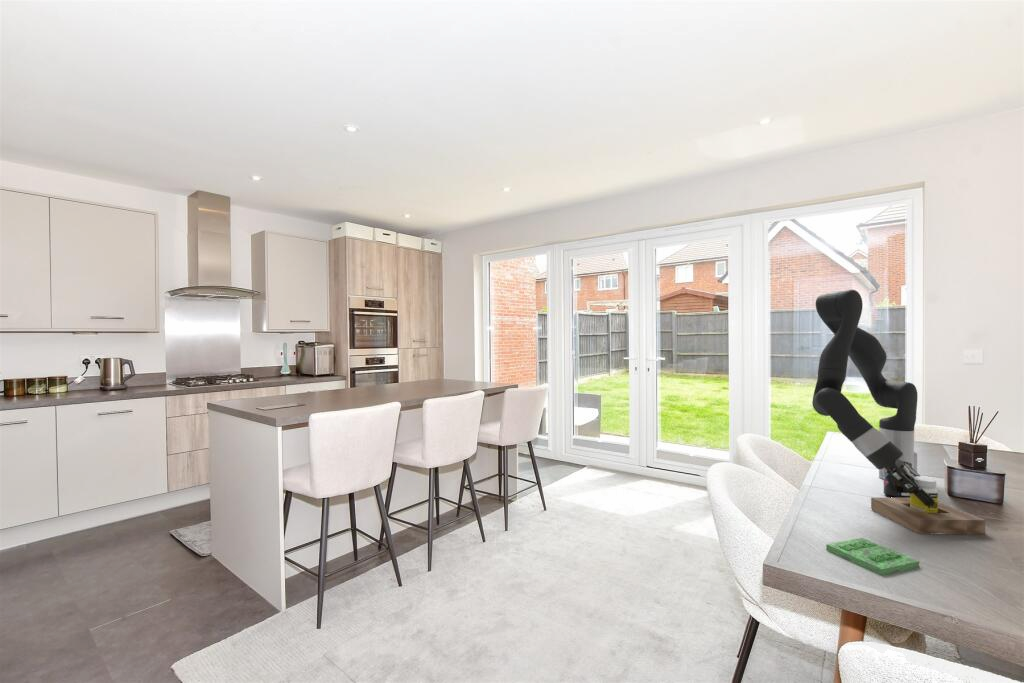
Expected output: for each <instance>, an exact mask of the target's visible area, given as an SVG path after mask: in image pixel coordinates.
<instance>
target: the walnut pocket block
mask: <svg viewBox="0 0 1024 683" xmlns="http://www.w3.org/2000/svg"><path fill="white" fill-rule="evenodd" d="M871 509H872V510H873V512H874V511H875V512H874V513H876V512H877V513H876V514H878V513H879V515H880V514H881V515H880V516H882V515H883V517H884V516H885V517H884V518H886V517H887V518H886V519H888V518H889V519H888V520H890V519H891V520H890V521H892V520H893V522H894V521H895V523H896V522H897V524H898V523H899V524H898V525H900V526H902V527H904V526H905V527H904V528H907V529H909V530H911V531H912V530H913V531H912V532H915V533H917V534H918V535H935V534H934V533H945V534H944V535H986V519H984V518H982V517H979V516H976V515H974V514H971V513H969V512H966V511H964V510H961V509H958V508H956V507H953V506H951V505H949V504H946V503H944V502H941V501H939V500H938V513H921V512H919V511H917V510H914V509H912V508H910V498H890V497H870V510H871ZM872 510H871V511H872ZM931 533H933V534H931Z"/></svg>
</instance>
